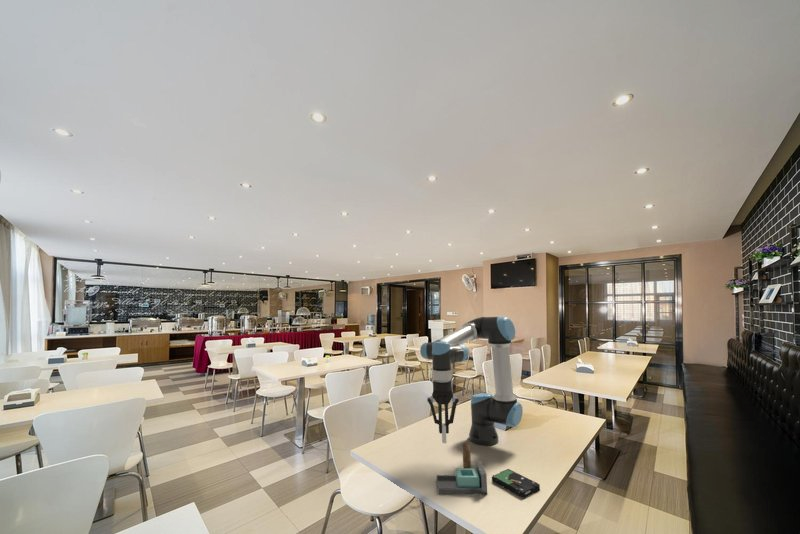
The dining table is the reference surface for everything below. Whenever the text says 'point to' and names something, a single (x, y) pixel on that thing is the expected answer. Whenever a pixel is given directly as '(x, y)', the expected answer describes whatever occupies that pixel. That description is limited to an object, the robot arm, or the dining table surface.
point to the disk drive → (516, 483)
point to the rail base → (449, 486)
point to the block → (467, 477)
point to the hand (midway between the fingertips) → (444, 441)
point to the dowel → (466, 455)
